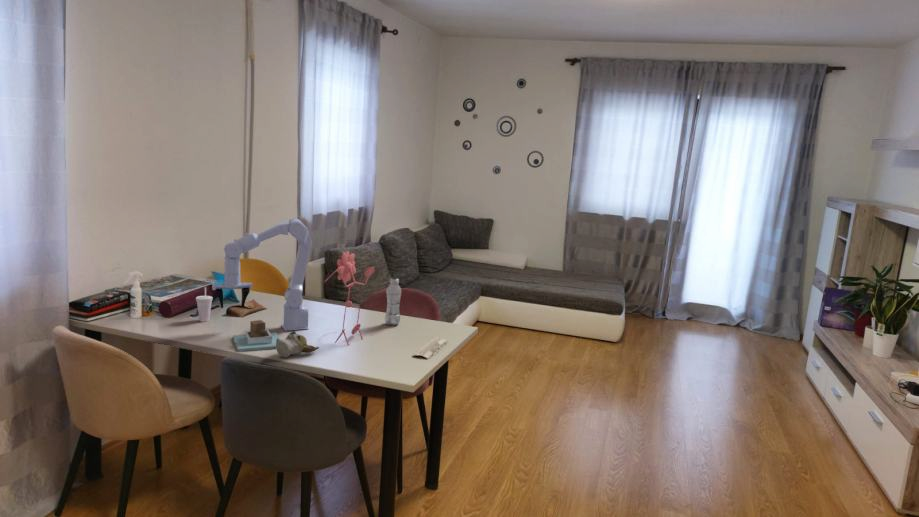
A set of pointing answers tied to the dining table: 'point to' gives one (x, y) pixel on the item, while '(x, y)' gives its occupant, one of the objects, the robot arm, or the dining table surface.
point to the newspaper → (430, 347)
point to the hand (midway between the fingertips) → (232, 307)
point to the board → (243, 346)
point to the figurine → (345, 272)
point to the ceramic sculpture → (293, 345)
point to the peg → (257, 328)
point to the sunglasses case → (244, 309)
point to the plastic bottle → (393, 302)
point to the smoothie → (204, 307)
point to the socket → (258, 338)
